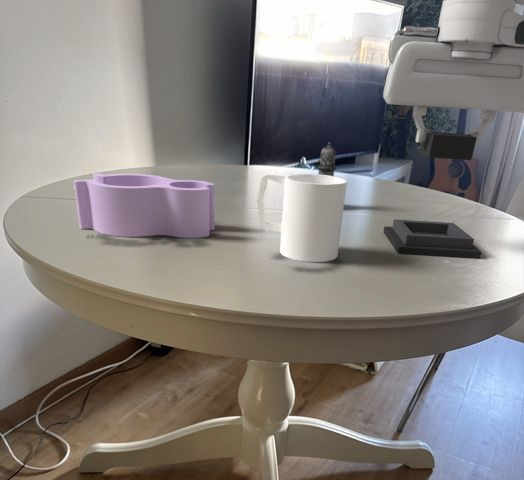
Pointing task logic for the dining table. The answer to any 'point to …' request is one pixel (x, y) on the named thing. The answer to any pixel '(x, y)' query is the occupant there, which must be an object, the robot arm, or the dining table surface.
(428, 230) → the base pad
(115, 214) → the purple hollow rounded tray
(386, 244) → the dining table surface
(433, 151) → the black pad
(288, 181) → the cup
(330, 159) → the salt shaker
